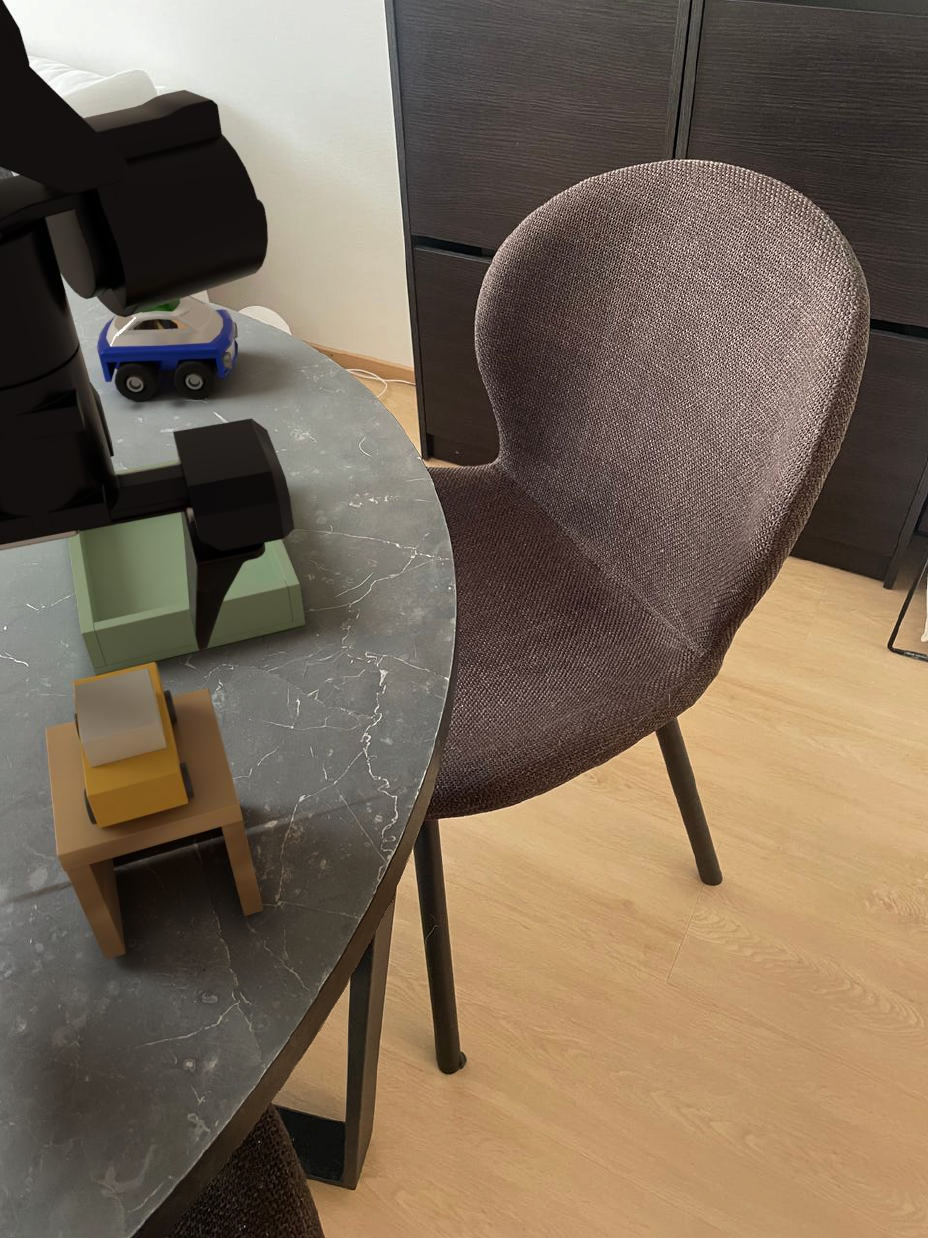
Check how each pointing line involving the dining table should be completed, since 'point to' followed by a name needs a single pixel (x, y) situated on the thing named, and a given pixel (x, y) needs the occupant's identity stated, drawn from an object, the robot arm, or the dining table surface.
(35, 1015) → the dining table surface
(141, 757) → the small car
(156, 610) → the green box
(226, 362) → the toy car
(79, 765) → the oak stand
